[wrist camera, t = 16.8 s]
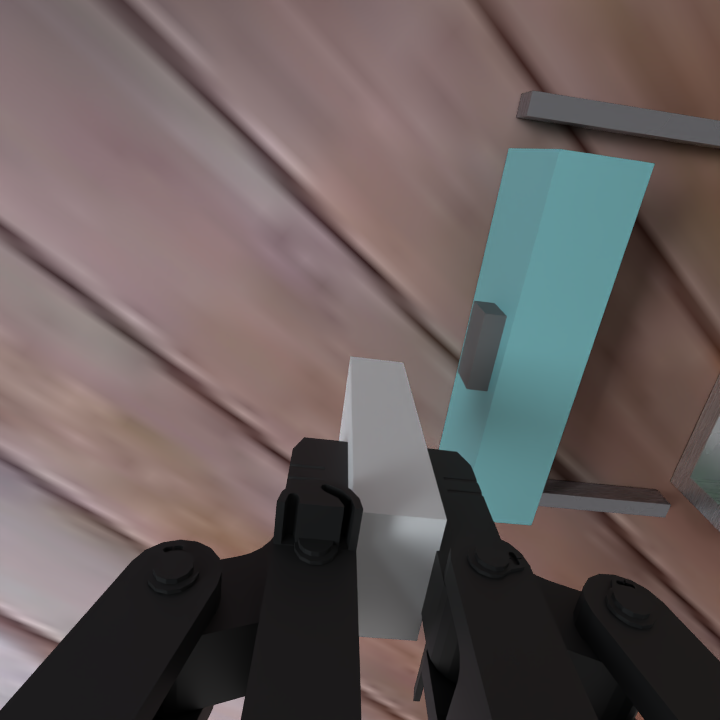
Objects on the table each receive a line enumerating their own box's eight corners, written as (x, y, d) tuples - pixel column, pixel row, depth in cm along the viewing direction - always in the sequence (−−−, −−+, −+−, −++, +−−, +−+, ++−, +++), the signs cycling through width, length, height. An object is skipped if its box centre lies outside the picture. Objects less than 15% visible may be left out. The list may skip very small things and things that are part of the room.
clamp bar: (488, 145, 19) (534, 145, 15) (582, 159, 20) (654, 163, 15) (423, 448, 25) (441, 517, 20) (496, 456, 25) (531, 525, 21)
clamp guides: (521, 93, 19) (532, 90, 18) (814, 140, 20) (842, 140, 19) (431, 481, 26) (435, 496, 25) (651, 501, 27) (665, 517, 25)
